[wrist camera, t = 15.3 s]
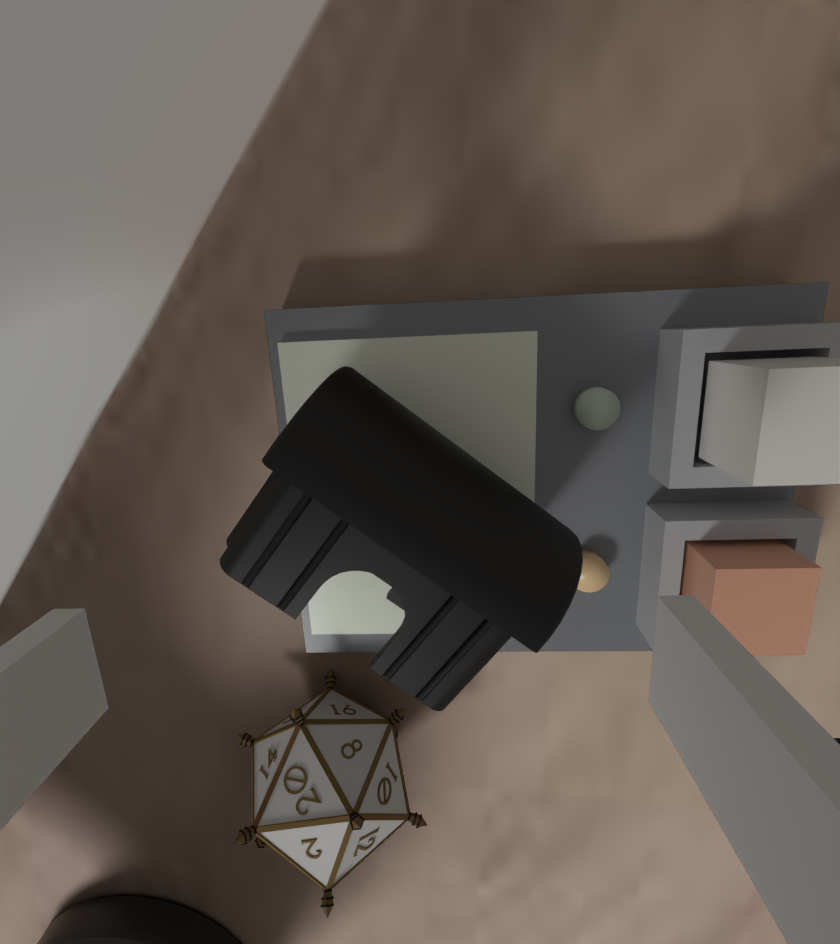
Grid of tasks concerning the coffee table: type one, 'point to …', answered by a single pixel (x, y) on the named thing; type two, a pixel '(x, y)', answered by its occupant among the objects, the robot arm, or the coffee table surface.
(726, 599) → the terracotta switch
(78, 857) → the coffee table surface
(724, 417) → the off-white switch
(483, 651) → the end cap
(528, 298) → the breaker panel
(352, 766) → the game die
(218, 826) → the coffee table surface
